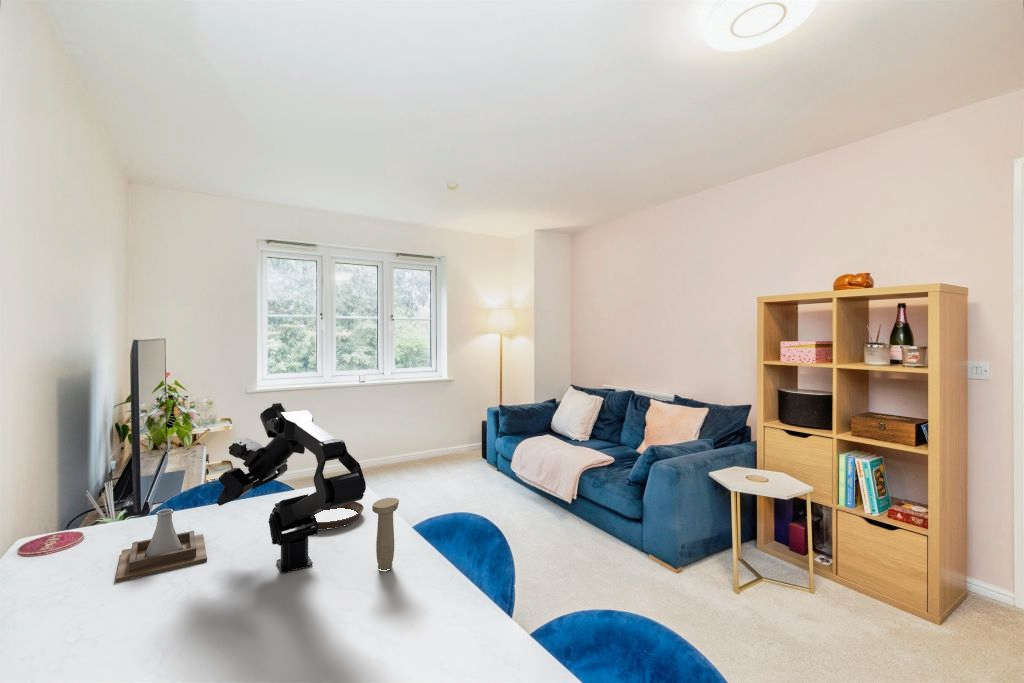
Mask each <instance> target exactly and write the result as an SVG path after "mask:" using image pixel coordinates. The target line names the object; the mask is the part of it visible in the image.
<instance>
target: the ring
mask: <svg viewBox="0 0 1024 683" xmlns="http://www.w3.org/2000/svg"><path fill="white" fill-rule="evenodd" d="M337 508H345V509H351V510H354V511H356V512H357V513H358V514H356V515H354V516H352V517H349V518H346V519H342V520H337V521H330V522H317V524H318V529H326V530H328V529H327V528H334V529H336V528H335V527H339V528H341V527H340V526H343V527H345V526H344V525H346V526H348V525H350V524H349V523H351V522H352V523H354V522H355V521H356V520H358V518H359V517H360V516H361V514H362V513H363V511H364V505H363V504H362V503H361V502H358V501H355V502H351V503H348V504H344V505H340V506H337V507H333V508H329V509H325V510H330V509H337ZM353 521H354V522H353ZM352 523H351V524H352ZM347 524H348V525H347ZM303 527H306V525H304V526H303Z"/></svg>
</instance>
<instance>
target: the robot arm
mask: <svg viewBox="0 0 1024 683" xmlns="http://www.w3.org/2000/svg"><path fill="white" fill-rule="evenodd" d="M259 418H260V421H261V423H262V426H263V428H264V430H265V434H266V436H267V438H271V440H270V441H269V442H268V443H267V444H266V445H265V446H263V444H261V443H259V442H258V441H256V440H253V439H251V438H249V437H242V438H240V439H236V440H235V441H234V442H232V444H231V445H229V447H228V449H229V451H228V454H229V455H230V456H232V457H234V458H236V459H240V460H243V461H244V462H243V463H242V465H244V466H245V468H247V470H248V472H247V473H245V472H244V470H242V469H241V467H232V468H231V469H229V470H227V471H224V472H223V473H222V474H221V475H220V476H219V477H218V482H220V483H221V484H222V486H223V488H222V491H221V493H220V495H219V497H218V499H217V501H216V504H217V505H218V506H220V507H222V506H223V505H226V504H228V503H230V502H232V501H235V500H237V499H240V498H242V497H244V496H246V495H247V494H248V493H249V492H250V491H252V490H255V489H257V488H259V487H261V486H263V485H265V484H267V483H270V482H272V481H275V480H276V479H278V478H279V477H281V476H283V475H284V474H285V473H286V472H287V471H288V464H287V463H288V462H289V461H288V459H289V458H290V457H291V456H292V455H293V454H301V455H304V454H305V451H306V449H307V451H309V452H310V453H312V454H313V455H314V456H315V460H316V462H317V465H316V469H315V472H314V476H313V479H312V480H313V485H314V488H315V491H314V492H313V493H311V494H309V493H305V494H303V495H301V494H300V495H298V496H293V497H289V498H285V499H282V500H281V501H278V502H277V503H274V507H273V508H272V511H271V513H270V514H269V518H268V525H269V532H270V538H271V544H272V545H278V546H280V559H276V565H277V566H278V570H279V571H280V573H281V574H284V572H286V573H289V572H292V570H293V571H296V569H297V570H300V569H299V568H301V569H304V568H307V566H308V567H311V566H310V565H312V564H313V563H314V562H313V561H312V559H311V558H310V556H309V537H311V536H316V535H318V532H319V530H318V524H317V521H316V518H315V516H314V515H315V514H317V513H319V512H321V511H323V510H325V509H329V508H333V507H337V506H340V505H344V504H348V503H351V502H358V501H361V500H362V499H363V498H364V496H365V494H364V493H365V492H366V490H367V484H366V479H365V477H364V474H363V470H362V468H361V464H360V463H359V462H358V461H357V460H356V459H355V457H353V456H352V455H351V454H350V453H349V451H348V448H347V445H346V443H345V441H344V440H343V439H339V438H336V437H335V436H333V435H331V433H329V432H327V431H325V429H323V428H321V427H320V426H318V425H316V424H315V423H314V416H313V415H312V414H311V413H310V412H309V411H308V409H307V410H306V409H302V410H299V409H298V410H291V411H286V409H285V407H284V406H283V404H282V403H281V402H276V403H272V405H271V406H270V407H268V408H266V409H264V410H263V411H262V412H261V413H260V415H259ZM335 460H338V461H339V463H341V464H342V466H344V467H345V468H346V469H347V471H349V473H348V472H347V473H343V474H338V475H334V476H329V477H325V476H324V469H325V466H326V463H327V462H329V461H335ZM304 525H306V526H304ZM301 527H302V528H301ZM298 528H299V529H298ZM293 529H295V530H293ZM290 530H291V531H290ZM286 531H288V532H286ZM283 532H284V533H283ZM312 566H313V565H312ZM303 567H304V568H303ZM288 571H289V572H288Z"/></svg>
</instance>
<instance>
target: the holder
mask: <svg viewBox="0 0 1024 683" xmlns="http://www.w3.org/2000/svg"><path fill="white" fill-rule="evenodd" d="M176 534H177V536H178V539H179V541H180V543H181V545H182V547H183V550H178V551H174V552H169V553H164V554H160V555H155V556H150V557H145V553H146V550H147V548H148V546H149V544H150V542H151V539H152V538H150V539H145V540H140V541H134V542H131V544H132V545H131V548H127V549H122V550H121V554H120V558H119V562H118V568H117V571H116V576H115V583H120V582H124V581H128V580H133V579H137V578H138V579H139V578H141V577H146V576H149V575H155V574H157V573H158V574H159V573H162V572H166V571H167V572H168V571H172V570H175V569H179V568H184V567H189V566H193V565H197V563H198V564H201V562H202V563H206V562H208V555H207V551H206V550H207V548H206V543H205V537H204V533H201V534H195V530H191V531H184V532H181V533H176ZM188 565H189V566H188ZM171 569H172V570H171Z"/></svg>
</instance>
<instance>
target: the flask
mask: <svg viewBox="0 0 1024 683" xmlns="http://www.w3.org/2000/svg"><path fill="white" fill-rule="evenodd" d="M155 514H156V517H157V521H156V526H155V530H154V532H153V534H152V537H151V538H150V539H151V542H150V544H149V546H148V548H147V550H146V553H145V557H150V556H155V555H160V554H164V553H169V552H174V551H178V550H183V547H182V545H181V543H180V541H179V539H178V536H177V534H178V533H177V531H176V530H175V527H174V522H173V514H174V510H173V509H172V508H164V509H160V510H158V511H156V512H155Z"/></svg>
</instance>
